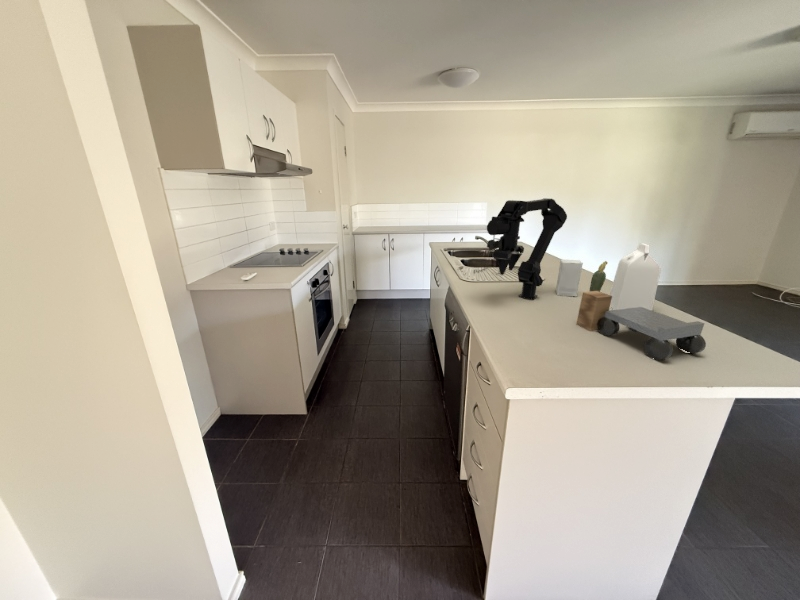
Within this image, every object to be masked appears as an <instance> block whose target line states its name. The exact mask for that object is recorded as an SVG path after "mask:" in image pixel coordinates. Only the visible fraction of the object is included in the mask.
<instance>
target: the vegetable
mask: <svg viewBox="0 0 800 600" xmlns="http://www.w3.org/2000/svg"><path fill="white" fill-rule="evenodd" d="M607 265H608V261H607V260H605V261H603V262H602V263H601V264H600V265H599V266H598V268H597V271H595V272H594V273H593V274H592V276H591V281H590V285H589V291H588V292H590V291H599V292H601V291H602V287H603V286H604V283H605V280H606V278H607V277H606V276H607V275H606V274H607V273H606V272H605V269H606V266H607Z"/></svg>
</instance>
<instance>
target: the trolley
mask: <svg viewBox="0 0 800 600" xmlns="http://www.w3.org/2000/svg"><path fill="white" fill-rule="evenodd" d="M705 324H706V323H704V322H702V321H697V320H696V321H690V322H685V321H684V320H680V319H678V318H676V317H675V318H674V317H671V316H668V315H666V314H663V313H660V312H657V311H654V310H653V309H652V310H649V309H646V308H643V307H636V308H627V309H619V310H613V309H611V310H609V311H606V313H605V317H602V318H600V319H599V320H598V323H597V328H598V330H597V331H598V332H599V333H600V334H601V335H603V336H613V335H616V334H618V333H619V331H620V325H622V326H626V327H628V329H629V330H631V329H632V330H634V331H633V332H640V333H642V334H644V335H647V336H649V337H651V338H648V339H647V340H646V341H645V342H644V345H643V348H644V349H643V350H644V352H645V354H646V355H647V357H649V356H650V357H652V358H654V359H653V360H655V359H656V361H660V360H666V359H669V358H670V357H672V355H673V353H674V348H673V345H672V344H671V342H670V341H669V340H675V339H676V340H675V344H676V346H677V349H679V348H680V349H683V350H685V351H687V352H690V353H692V354H693V355H694V354H698V353H701V352H703V351H704V350H706V345H707V343H706V340H705V338H704V337H703V336H702V333H703V329H704V325H705ZM632 330H631V331H632ZM680 349H679V350H680ZM692 354H691V355H692ZM650 357H649V358H650ZM652 358H651V359H652Z"/></svg>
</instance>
